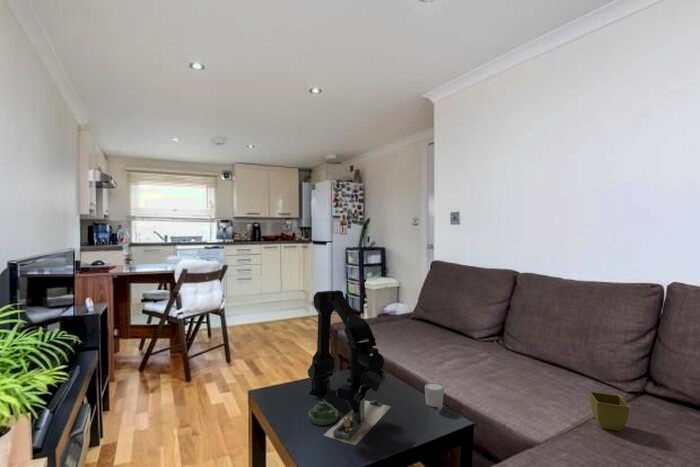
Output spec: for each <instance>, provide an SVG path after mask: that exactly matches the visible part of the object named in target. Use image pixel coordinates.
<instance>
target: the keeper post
mask: <svg viewBox="0 0 700 467" xmlns="http://www.w3.org/2000/svg"><path fill="white" fill-rule="evenodd" d="M349 432H350V418H349V417H346V418H345V419H344V433H347V434H348V433H349Z"/></svg>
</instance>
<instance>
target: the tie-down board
mask: <svg viewBox="0 0 700 467" xmlns="http://www.w3.org/2000/svg"><path fill="white" fill-rule="evenodd" d="M391 408H392V406H390V405H386V404H383V403H382V402H380V401H379V400H377V399H374V400H370V401H369V400H366V399H365V419H364V420H363V421H362V422H361V428H360V429H359V430H358V431H357V432H356V433H355V434H354V435H353V436H352V437H351V438H350V440H349V441H348V440H345V439H342V438H339V437H335V436H333V431H334V430H335V429H336V428H337V427H338V426H339V425H340V424H341V423H342V422H343V421H344V419H345V418H346V417H349V418H350V420H352V409H351V410H349V412H348V413H346V414H345V415H344V416H343V417H342V418H341V419H339V420H338V421H336V422H335V424H334V425H333V426H332V427H331V428H329V429H328V430H327V431H326V432H325V433H324V434H323V436H324V437H327V438H330V439H334V440H336V441H340V442H343V443H345V444H350V445H353V446H356V445H358V443H359V442H360V441H361V440H363V438H364V437H365V436H366V435H367V433H368V432H370V430H371V429H372V428H373V427H374V426H375V425H376V424H377V422H379V421H380V420H381V418H382V417H384V415H385V414H386V413H387V412H388V411H389V410H390V409H391ZM352 428H353V426H350V431H351V429H352ZM341 432H343V433H344V429H343V430H342V431H341Z"/></svg>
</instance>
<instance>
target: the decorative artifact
mask: <svg viewBox="0 0 700 467" xmlns="http://www.w3.org/2000/svg"><path fill="white" fill-rule="evenodd" d="M307 414H308V415H307V420H308V421H309V422H310V423H312V424H314V425H317V426H327V425H331V424H334V423H337V422H338V421H339V420H338V419H339V417H340V416H339V415H340V414H339V410H338V409H337V408H335V407H334V406H333V405H332V403H329V402H327V401H326V400H325V399H324V398H323V399H322V401H318V403H317V404H315V405H314V406H313V408H310V410H309V411H308V413H307Z"/></svg>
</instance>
